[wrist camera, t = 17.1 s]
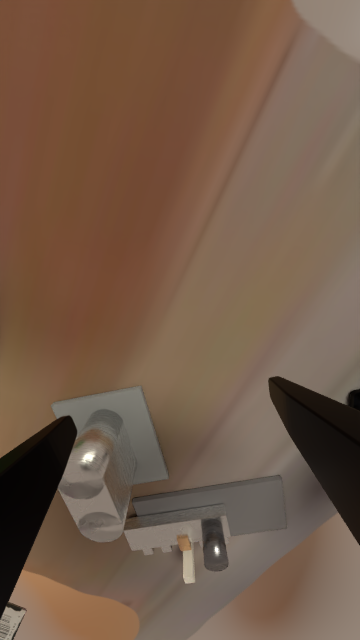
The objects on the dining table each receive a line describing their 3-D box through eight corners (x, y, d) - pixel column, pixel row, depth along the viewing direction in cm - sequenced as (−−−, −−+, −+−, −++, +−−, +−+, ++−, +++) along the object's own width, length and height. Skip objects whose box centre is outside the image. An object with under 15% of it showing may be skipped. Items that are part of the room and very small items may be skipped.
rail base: (279, 475, 24) (298, 514, 21) (285, 525, 27) (303, 568, 23) (133, 498, 26) (124, 539, 22) (151, 544, 28) (146, 588, 24)
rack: (223, 503, 25) (232, 552, 21) (229, 530, 26) (239, 581, 22) (125, 518, 26) (114, 568, 21) (136, 544, 27) (128, 596, 23)
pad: (141, 385, 21) (140, 388, 21) (168, 474, 24) (168, 478, 24) (53, 402, 22) (50, 405, 21) (92, 487, 25) (90, 491, 25)
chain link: (118, 406, 21) (94, 459, 15) (141, 472, 24) (128, 539, 18) (82, 412, 21) (46, 467, 16) (109, 477, 24) (86, 544, 18)
